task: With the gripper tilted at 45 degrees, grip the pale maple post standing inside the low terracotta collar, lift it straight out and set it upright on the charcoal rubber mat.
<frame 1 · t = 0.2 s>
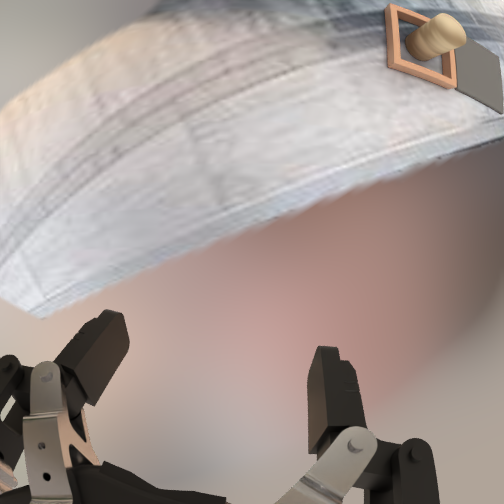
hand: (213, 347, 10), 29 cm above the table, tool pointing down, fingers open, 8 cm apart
charcoal mat: (478, 71, 24), on the table
terracotta collar: (418, 47, 25), on the table
maple post: (418, 47, 25), resting in terracotta collar
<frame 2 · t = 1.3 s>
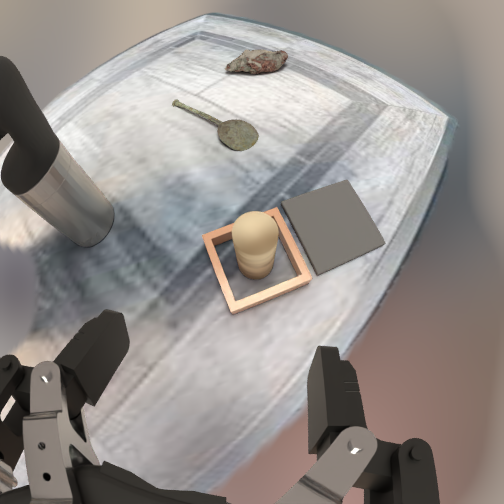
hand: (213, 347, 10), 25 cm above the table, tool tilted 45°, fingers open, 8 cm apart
charcoal mat: (333, 224, 39), on the table
terracotta collar: (255, 262, 37), on the table
mineral rock: (256, 69, 55), on the table
maple post: (255, 262, 37), resting in terracotta collar
soupspoon: (210, 123, 48), on the table
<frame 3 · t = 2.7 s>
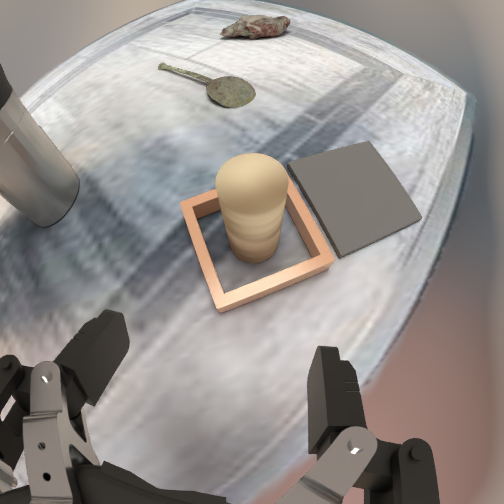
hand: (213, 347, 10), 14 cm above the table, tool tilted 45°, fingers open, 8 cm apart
charcoal mat: (357, 192, 29), on the table
terracotta collar: (253, 240, 27), on the table
mineral rock: (255, 35, 44), on the table
maple post: (253, 240, 27), resting in terracotta collar
soupspoon: (200, 84, 38), on the table
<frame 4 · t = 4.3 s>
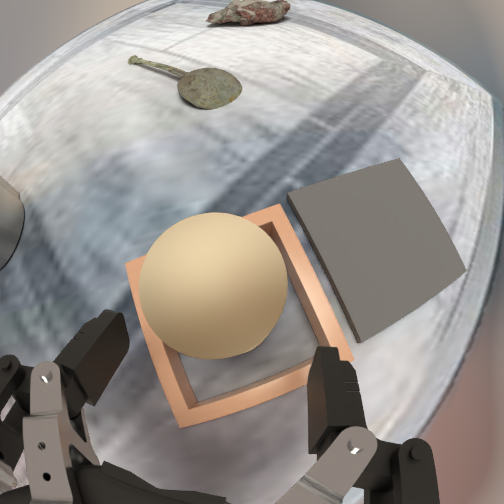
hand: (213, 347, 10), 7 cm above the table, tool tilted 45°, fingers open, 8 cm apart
charcoal mat: (385, 237, 20), on the table
terracotta collar: (234, 318, 18), on the table
mineral rock: (249, 22, 35), on the table
maple post: (234, 318, 18), resting in terracotta collar
soupspoon: (174, 79, 29), on the table
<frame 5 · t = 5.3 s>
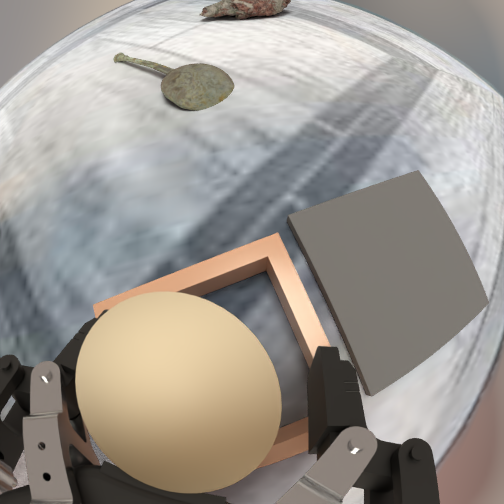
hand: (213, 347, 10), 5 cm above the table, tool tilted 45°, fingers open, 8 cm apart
charcoal mat: (403, 268, 16), on the table
terracotta collar: (222, 370, 14), on the table
mineral rock: (246, 16, 32), on the table
maple post: (223, 370, 14), resting in terracotta collar
soupspoon: (160, 77, 25), on the table
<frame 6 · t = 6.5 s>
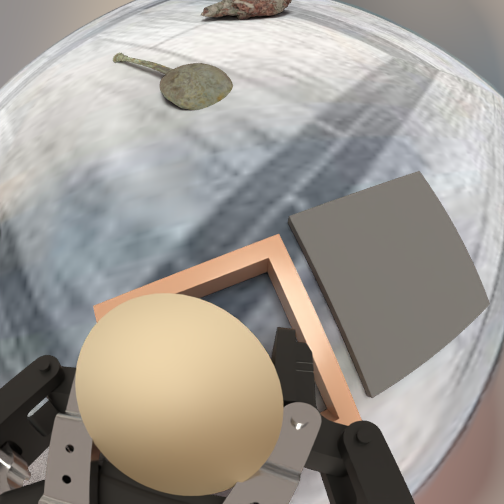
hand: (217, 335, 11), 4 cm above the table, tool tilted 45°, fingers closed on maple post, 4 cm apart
charcoal mat: (404, 269, 16), on the table
terracotta collar: (223, 371, 14), on the table
mineral rock: (247, 16, 32), on the table
maple post: (223, 371, 14), resting in terracotta collar, touching gripper
soupspoon: (159, 77, 25), on the table
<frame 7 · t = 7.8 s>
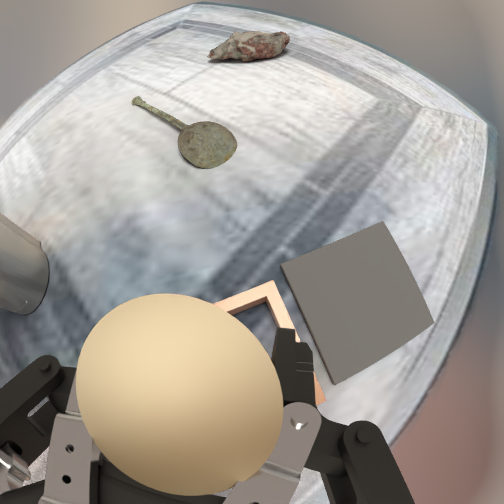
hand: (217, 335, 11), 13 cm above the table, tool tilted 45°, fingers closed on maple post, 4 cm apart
charcoal mat: (362, 298, 24), on the table
terracotta collar: (238, 366, 22), on the table
mineral rock: (249, 56, 41), on the table
maple post: (223, 371, 14), point 9 cm above the table, touching gripper
soupspoon: (175, 128, 34), on the table
when the fingers open (6 cm above the table, at t = 11.8 s): maple post drops 1 cm, resting on charcoal mat.
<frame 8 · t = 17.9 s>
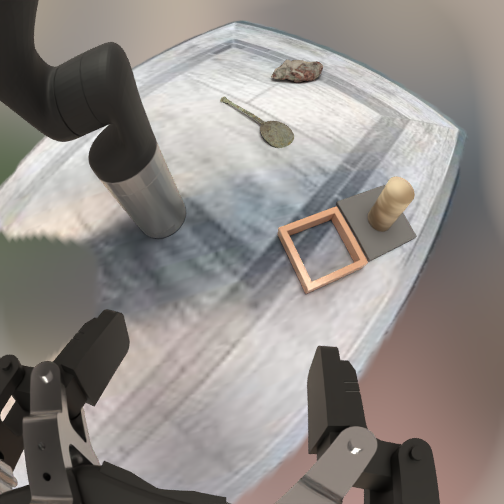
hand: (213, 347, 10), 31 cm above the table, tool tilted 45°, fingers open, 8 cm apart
charcoal mat: (377, 221, 46), on the table
terracotta collar: (320, 251, 44), on the table
mineral rock: (296, 77, 63), on the table
maple post: (379, 219, 45), point 1 cm above the table, touching charcoal mat
soupspoon: (253, 121, 56), on the table
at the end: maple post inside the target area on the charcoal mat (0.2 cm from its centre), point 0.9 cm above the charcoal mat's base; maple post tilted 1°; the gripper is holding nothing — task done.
